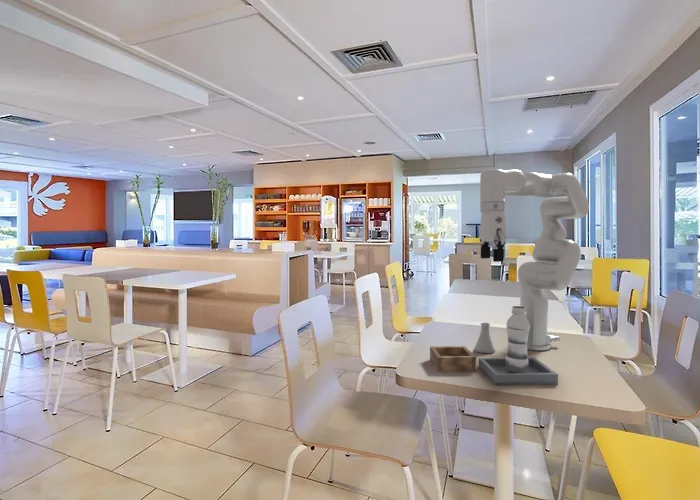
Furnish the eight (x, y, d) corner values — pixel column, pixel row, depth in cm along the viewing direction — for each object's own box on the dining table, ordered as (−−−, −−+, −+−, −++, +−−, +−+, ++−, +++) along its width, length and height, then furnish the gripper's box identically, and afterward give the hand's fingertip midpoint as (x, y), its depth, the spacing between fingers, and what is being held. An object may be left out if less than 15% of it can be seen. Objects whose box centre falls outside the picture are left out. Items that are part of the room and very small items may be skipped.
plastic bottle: (526, 378, 115) (529, 310, 114) (502, 373, 118) (505, 307, 117) (530, 371, 120) (532, 306, 119) (506, 367, 124) (509, 304, 123)
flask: (495, 348, 144) (495, 321, 144) (495, 355, 137) (496, 327, 137) (474, 346, 147) (475, 320, 146) (473, 352, 140) (474, 325, 139)
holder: (464, 359, 133) (464, 346, 133) (475, 371, 122) (476, 357, 122) (429, 359, 133) (430, 346, 133) (437, 371, 122) (438, 357, 122)
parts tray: (533, 366, 126) (534, 357, 126) (557, 384, 112) (558, 374, 112) (478, 367, 126) (478, 358, 126) (495, 385, 112) (495, 375, 112)
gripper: (516, 206, 120) (515, 262, 122) (491, 208, 137) (491, 256, 139) (492, 207, 120) (492, 263, 121) (470, 208, 137) (470, 257, 138)
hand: (491, 259), depth 130 cm, fingers open, 9 cm apart
